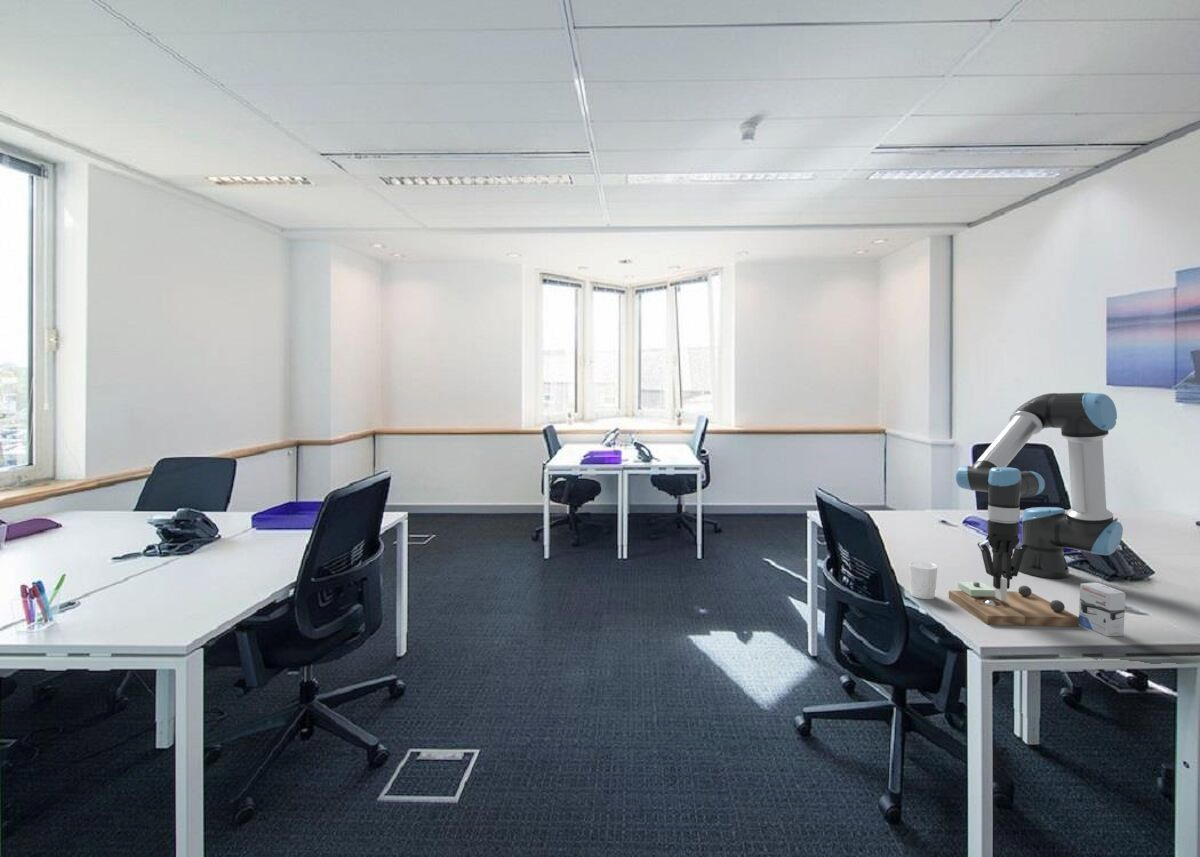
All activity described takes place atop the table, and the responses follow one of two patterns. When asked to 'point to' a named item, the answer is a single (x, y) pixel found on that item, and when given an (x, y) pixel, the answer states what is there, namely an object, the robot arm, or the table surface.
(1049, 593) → the table surface
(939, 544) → the table surface
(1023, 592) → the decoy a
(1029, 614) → the wooden cutting board
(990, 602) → the steel ball
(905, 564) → the table surface
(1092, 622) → the ink box
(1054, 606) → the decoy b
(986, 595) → the mint green square lid
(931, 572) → the white cup
